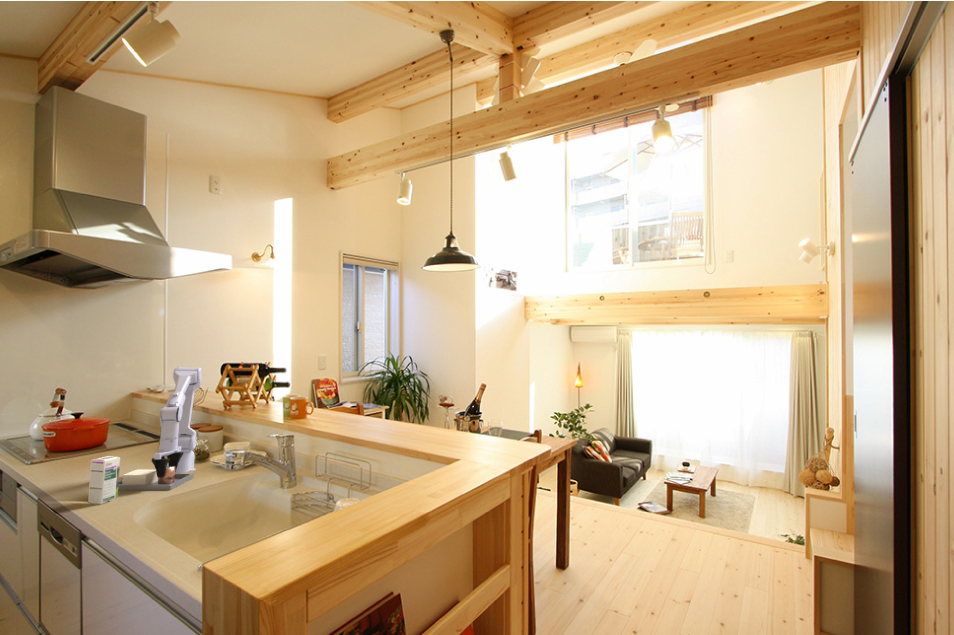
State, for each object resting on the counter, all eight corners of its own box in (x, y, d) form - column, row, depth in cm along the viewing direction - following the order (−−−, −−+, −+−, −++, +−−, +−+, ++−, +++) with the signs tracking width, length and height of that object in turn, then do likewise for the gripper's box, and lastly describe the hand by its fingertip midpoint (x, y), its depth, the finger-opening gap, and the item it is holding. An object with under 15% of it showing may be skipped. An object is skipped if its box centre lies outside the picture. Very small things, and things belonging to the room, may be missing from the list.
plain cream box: (135, 480, 180) (136, 469, 180) (157, 480, 181) (158, 469, 181) (121, 486, 172) (122, 475, 172) (144, 486, 173) (145, 475, 173)
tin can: (162, 481, 179) (163, 465, 180) (177, 481, 180) (178, 465, 180) (154, 485, 174) (155, 469, 175) (169, 485, 175) (170, 468, 175)
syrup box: (101, 504, 155) (105, 460, 156) (87, 503, 156) (90, 458, 157) (117, 499, 160) (121, 456, 161) (103, 497, 162) (107, 455, 163)
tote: (137, 479, 184) (138, 473, 184) (193, 480, 185) (193, 473, 186) (109, 492, 168) (109, 485, 168) (170, 492, 170) (170, 485, 170)
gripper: (169, 442, 171) (166, 479, 170) (190, 434, 186) (187, 469, 185) (149, 441, 171) (146, 479, 170) (171, 434, 185) (169, 469, 184)
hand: (166, 474), depth 177 cm, fingers open, 7 cm apart
